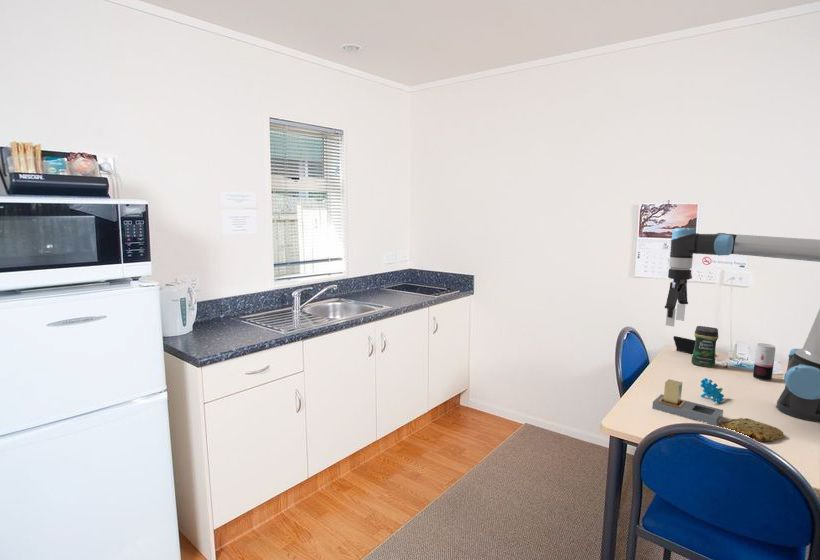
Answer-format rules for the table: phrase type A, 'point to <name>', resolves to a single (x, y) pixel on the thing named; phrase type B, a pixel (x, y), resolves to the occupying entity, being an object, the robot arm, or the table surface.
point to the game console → (684, 345)
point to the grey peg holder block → (690, 410)
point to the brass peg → (672, 392)
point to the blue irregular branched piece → (712, 390)
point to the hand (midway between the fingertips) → (674, 323)
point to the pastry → (754, 429)
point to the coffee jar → (705, 346)
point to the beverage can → (764, 362)
